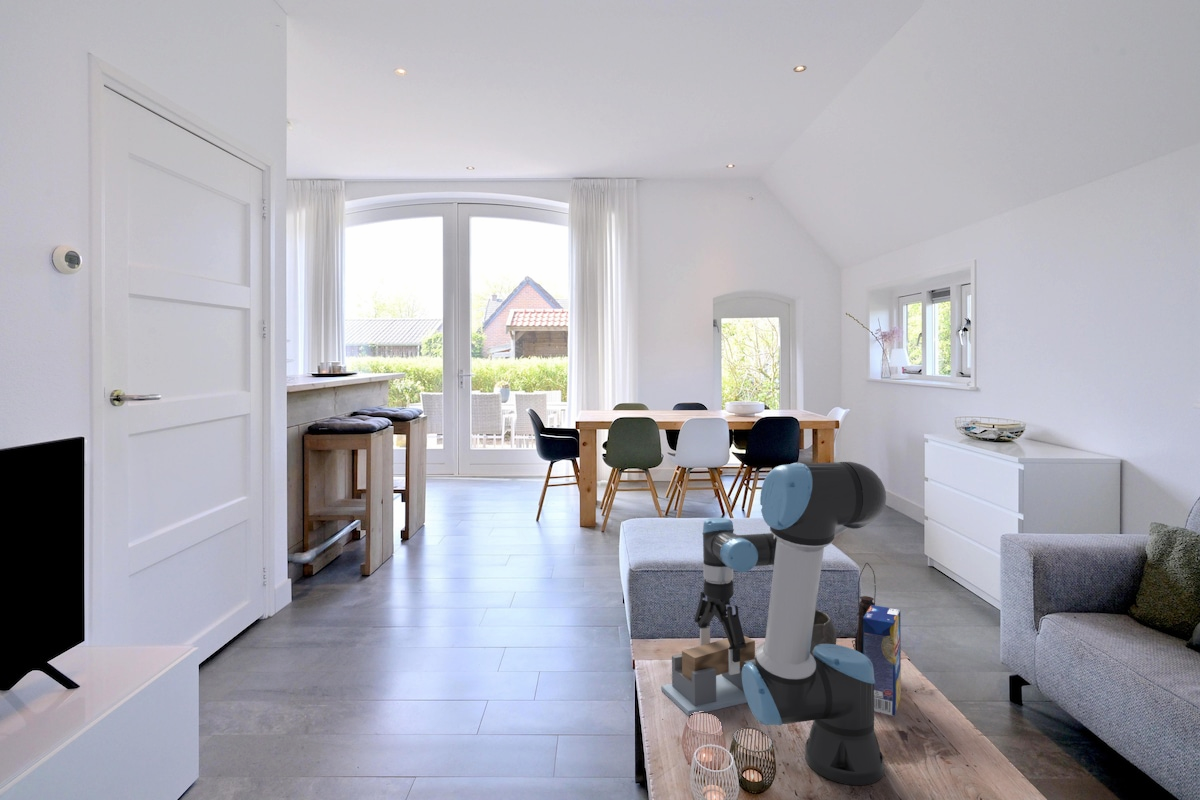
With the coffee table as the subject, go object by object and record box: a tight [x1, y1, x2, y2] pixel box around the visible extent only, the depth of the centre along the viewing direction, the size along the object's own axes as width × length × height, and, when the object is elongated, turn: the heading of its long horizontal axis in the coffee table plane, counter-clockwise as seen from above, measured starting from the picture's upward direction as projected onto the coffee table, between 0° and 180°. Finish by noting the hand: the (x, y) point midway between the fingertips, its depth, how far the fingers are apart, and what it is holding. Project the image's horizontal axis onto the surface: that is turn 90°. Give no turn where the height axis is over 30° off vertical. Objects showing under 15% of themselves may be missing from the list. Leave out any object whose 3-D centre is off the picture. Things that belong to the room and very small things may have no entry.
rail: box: [681, 635, 756, 680], centre depth 161 cm, size 20×5×6 cm, turn 121°
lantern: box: [851, 562, 877, 654], centre depth 171 cm, size 8×8×30 cm
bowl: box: [810, 609, 837, 656], centre depth 181 cm, size 18×18×13 cm
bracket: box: [660, 653, 755, 717], centre depth 161 cm, size 14×26×9 cm, turn 112°
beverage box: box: [863, 604, 902, 717], centre depth 155 cm, size 7×11×22 cm, turn 148°
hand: (719, 662), depth 161 cm, fingers open, 13 cm apart
